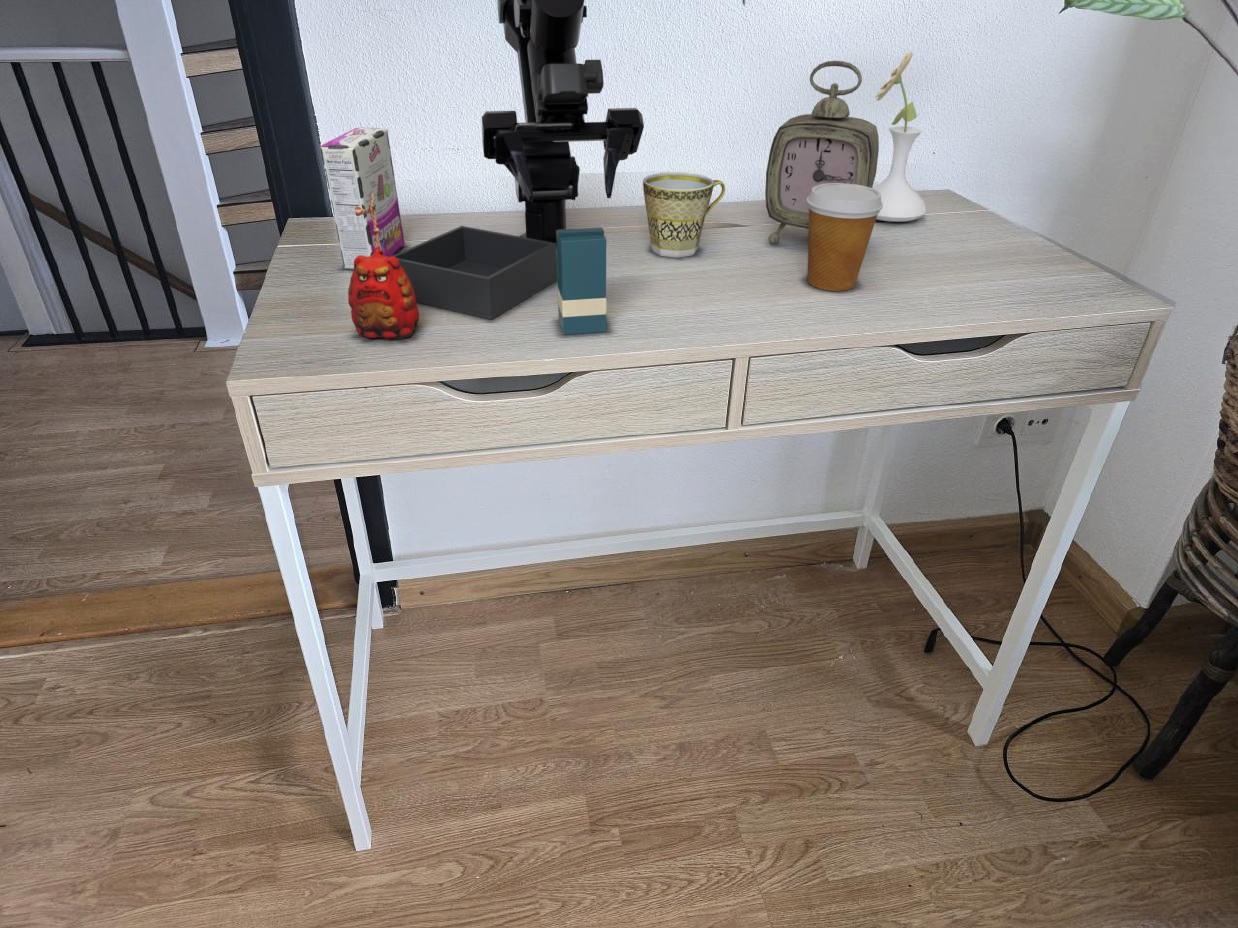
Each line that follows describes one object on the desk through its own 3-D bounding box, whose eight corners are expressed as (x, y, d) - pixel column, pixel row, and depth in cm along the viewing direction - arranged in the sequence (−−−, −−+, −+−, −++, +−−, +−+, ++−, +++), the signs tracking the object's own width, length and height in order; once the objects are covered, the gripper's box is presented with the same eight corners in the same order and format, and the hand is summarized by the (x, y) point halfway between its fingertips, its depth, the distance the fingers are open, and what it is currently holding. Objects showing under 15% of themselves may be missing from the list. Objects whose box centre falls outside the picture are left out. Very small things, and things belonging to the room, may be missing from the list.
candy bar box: (373, 244, 120) (355, 126, 111) (405, 246, 120) (389, 128, 111) (340, 270, 111) (317, 143, 102) (375, 272, 110) (355, 145, 101)
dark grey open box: (465, 261, 114) (461, 225, 112) (557, 280, 109) (556, 243, 106) (392, 297, 103) (387, 257, 100) (491, 320, 97) (488, 279, 94)
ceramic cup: (662, 265, 114) (665, 193, 108) (628, 245, 121) (630, 176, 116) (739, 252, 119) (745, 182, 114) (702, 233, 126) (707, 167, 121)
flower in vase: (877, 204, 142) (907, 44, 128) (937, 218, 135) (975, 51, 121) (834, 218, 134) (860, 49, 121) (895, 234, 127) (930, 57, 114)
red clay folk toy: (347, 343, 91) (322, 208, 83) (363, 318, 97) (341, 190, 89) (415, 344, 91) (397, 209, 83) (427, 319, 97) (411, 191, 89)
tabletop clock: (758, 246, 122) (778, 61, 108) (771, 229, 129) (792, 54, 115) (856, 259, 117) (890, 68, 104) (864, 241, 124) (897, 60, 111)
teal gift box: (558, 321, 97) (555, 225, 91) (600, 318, 98) (600, 223, 92) (563, 335, 94) (560, 236, 88) (606, 332, 95) (606, 234, 88)
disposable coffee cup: (870, 275, 112) (887, 186, 105) (864, 300, 104) (882, 205, 98) (800, 267, 114) (813, 179, 108) (790, 290, 107) (802, 197, 100)
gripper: (475, 32, 88) (489, 161, 85) (642, 31, 91) (662, 155, 88) (477, 98, 99) (490, 215, 96) (627, 95, 102) (644, 208, 99)
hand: (570, 198), depth 94 cm, fingers open, 9 cm apart
